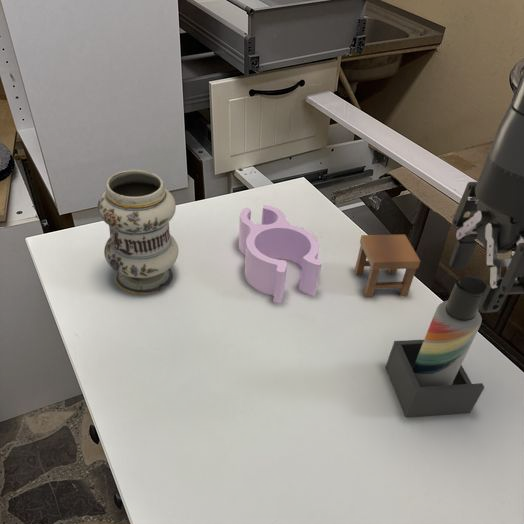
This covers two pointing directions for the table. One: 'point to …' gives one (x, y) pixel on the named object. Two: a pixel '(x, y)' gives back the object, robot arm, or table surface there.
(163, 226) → the apothecary jar
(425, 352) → the lotion bottle
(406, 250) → the stool
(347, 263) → the table surface
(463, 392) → the dark grey open box
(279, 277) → the clip
